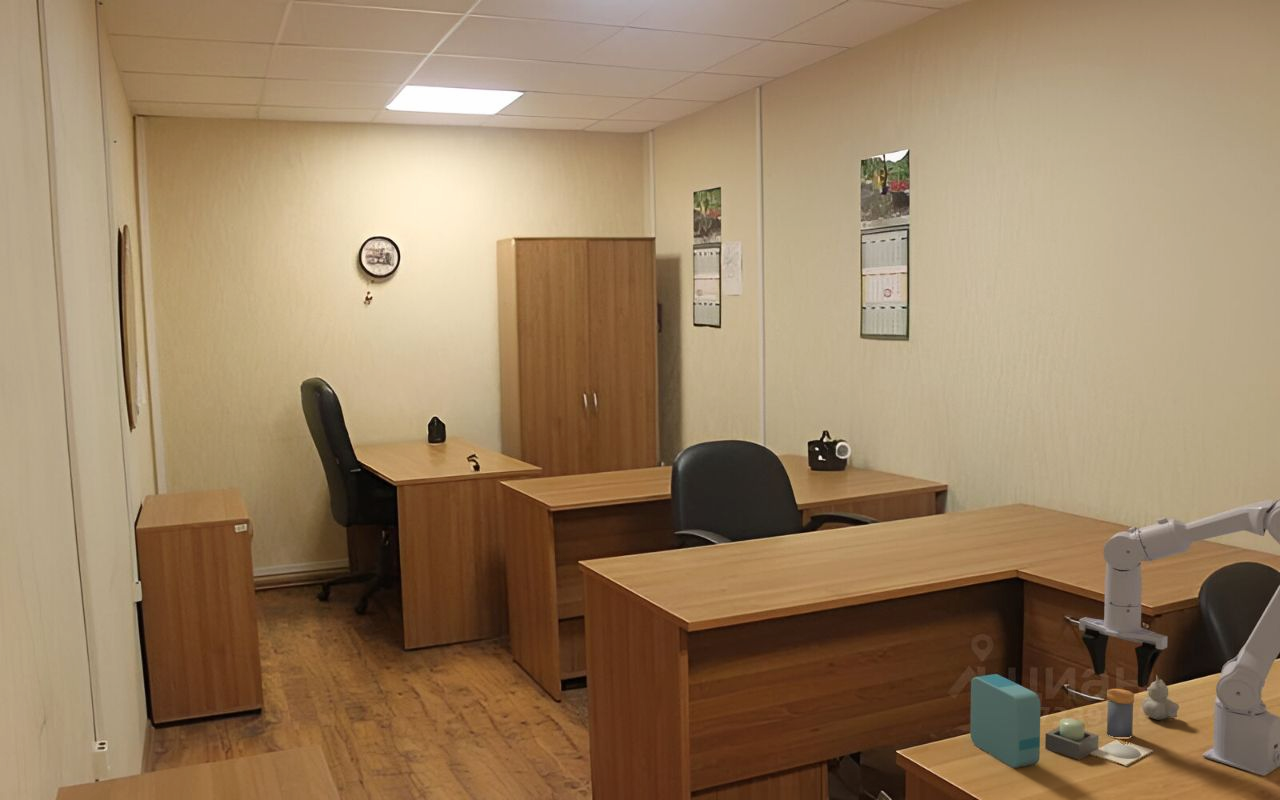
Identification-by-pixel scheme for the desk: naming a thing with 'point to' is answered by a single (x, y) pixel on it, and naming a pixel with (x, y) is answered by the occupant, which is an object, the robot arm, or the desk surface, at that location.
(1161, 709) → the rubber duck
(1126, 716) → the orange-capped grey cylinder
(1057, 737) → the button housing
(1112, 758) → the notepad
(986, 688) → the data package
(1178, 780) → the desk surface
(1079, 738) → the button
